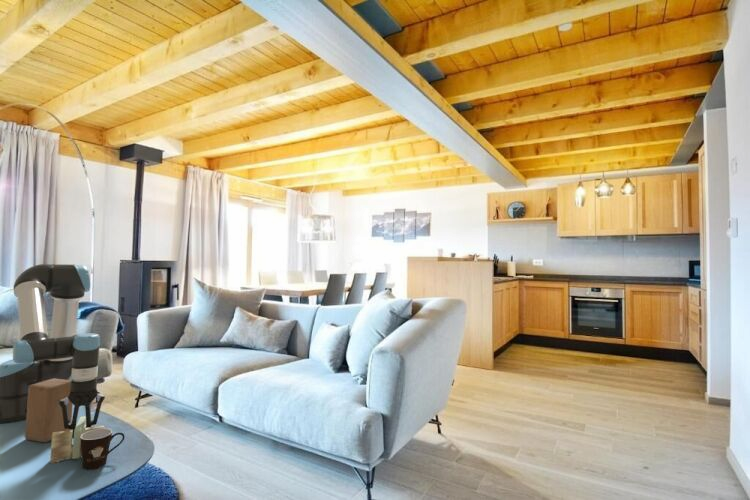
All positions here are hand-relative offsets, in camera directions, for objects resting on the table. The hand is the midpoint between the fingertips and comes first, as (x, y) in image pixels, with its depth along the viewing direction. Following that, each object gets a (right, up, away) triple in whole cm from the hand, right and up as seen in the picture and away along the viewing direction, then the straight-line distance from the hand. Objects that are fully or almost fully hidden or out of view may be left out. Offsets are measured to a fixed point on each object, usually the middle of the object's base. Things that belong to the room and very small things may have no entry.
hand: (79, 446), depth 138 cm
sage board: (+1, 0, -2) cm, 2 cm away
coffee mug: (+13, -2, -9) cm, 16 cm away
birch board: (+2, -1, -4) cm, 5 cm away
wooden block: (-19, -1, +9) cm, 21 cm away
